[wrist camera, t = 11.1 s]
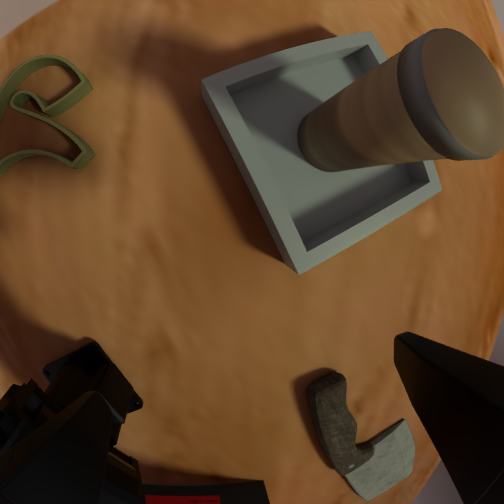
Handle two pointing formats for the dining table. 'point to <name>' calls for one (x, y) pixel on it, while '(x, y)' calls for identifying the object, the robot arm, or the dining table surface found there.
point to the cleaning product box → (208, 494)
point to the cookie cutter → (44, 109)
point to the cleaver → (362, 456)
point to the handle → (411, 109)
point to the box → (291, 159)
